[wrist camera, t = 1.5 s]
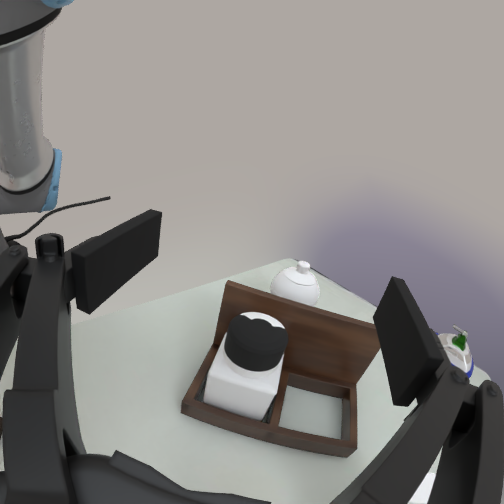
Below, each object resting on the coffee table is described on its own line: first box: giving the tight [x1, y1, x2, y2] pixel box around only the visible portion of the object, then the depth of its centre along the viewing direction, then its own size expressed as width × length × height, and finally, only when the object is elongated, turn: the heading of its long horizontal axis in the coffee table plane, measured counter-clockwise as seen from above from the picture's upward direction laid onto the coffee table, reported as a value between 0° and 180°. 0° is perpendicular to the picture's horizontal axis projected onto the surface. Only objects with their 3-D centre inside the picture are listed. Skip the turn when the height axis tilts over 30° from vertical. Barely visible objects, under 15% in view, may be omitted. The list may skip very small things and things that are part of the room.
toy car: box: [435, 324, 474, 378], centre depth 40 cm, size 9×12×10 cm
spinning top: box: [270, 261, 320, 307], centre depth 45 cm, size 8×8×12 cm
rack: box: [181, 280, 381, 457], centre depth 30 cm, size 12×20×12 cm, turn 77°
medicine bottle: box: [203, 312, 289, 422], centre depth 30 cm, size 7×7×12 cm
